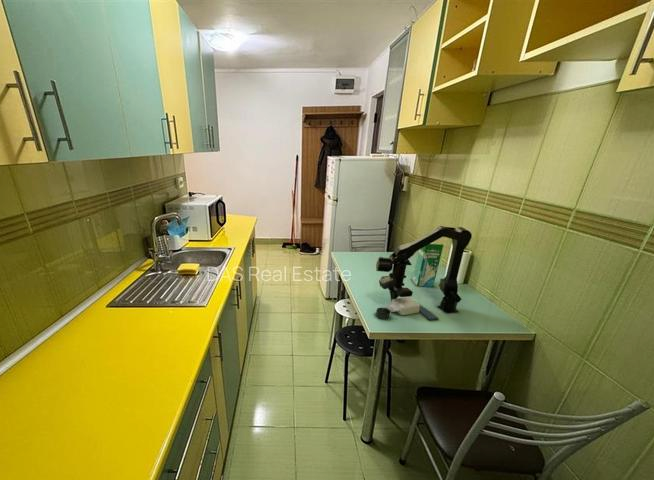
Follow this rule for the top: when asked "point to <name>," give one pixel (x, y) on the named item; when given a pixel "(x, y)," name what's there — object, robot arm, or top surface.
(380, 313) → the black knob
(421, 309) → the dark blue flat bar
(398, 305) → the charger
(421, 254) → the milk carton
